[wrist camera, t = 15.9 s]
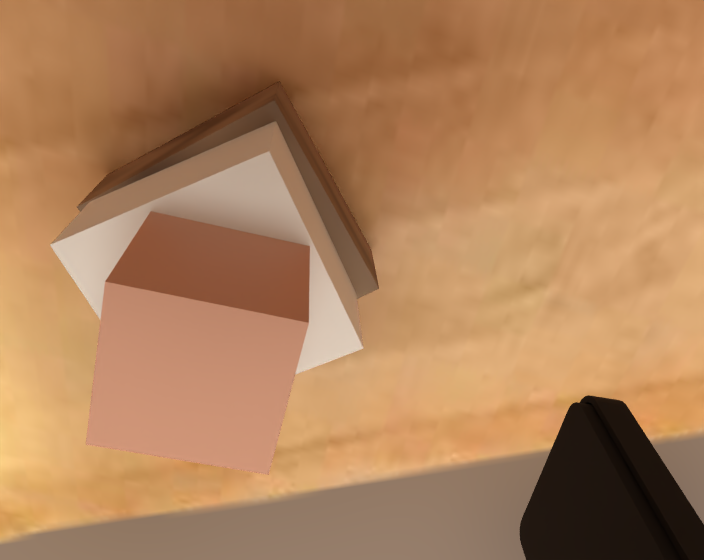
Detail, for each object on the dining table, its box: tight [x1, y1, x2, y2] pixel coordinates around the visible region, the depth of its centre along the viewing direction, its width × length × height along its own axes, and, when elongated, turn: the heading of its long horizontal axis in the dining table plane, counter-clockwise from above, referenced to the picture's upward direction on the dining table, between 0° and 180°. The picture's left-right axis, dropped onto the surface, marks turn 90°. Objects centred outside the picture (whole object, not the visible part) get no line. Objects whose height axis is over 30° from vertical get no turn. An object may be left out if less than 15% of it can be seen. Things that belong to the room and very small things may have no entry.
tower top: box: [50, 121, 363, 374], centre depth 29 cm, size 9×9×5 cm
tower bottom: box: [77, 81, 379, 299], centre depth 33 cm, size 10×10×5 cm
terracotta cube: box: [86, 211, 310, 475], centre depth 24 cm, size 6×6×6 cm
